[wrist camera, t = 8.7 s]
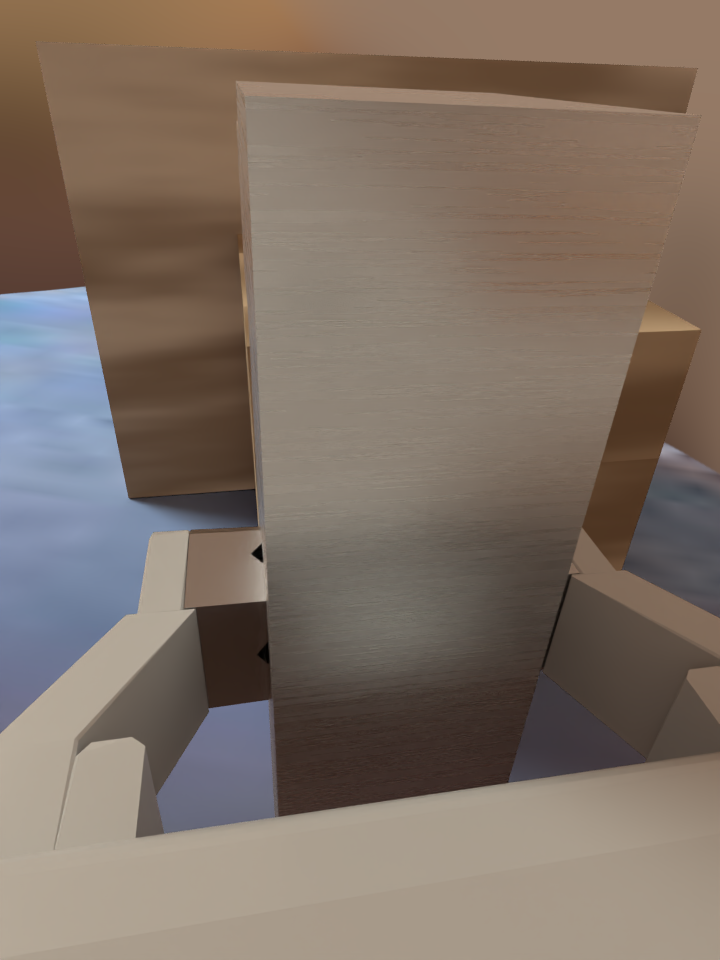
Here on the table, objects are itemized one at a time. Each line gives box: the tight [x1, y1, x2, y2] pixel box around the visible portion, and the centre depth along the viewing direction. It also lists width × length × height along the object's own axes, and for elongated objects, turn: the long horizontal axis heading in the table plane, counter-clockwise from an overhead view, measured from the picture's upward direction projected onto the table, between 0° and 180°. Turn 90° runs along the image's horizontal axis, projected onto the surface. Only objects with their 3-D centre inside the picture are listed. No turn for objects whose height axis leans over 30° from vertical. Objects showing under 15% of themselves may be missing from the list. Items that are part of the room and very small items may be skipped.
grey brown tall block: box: [236, 81, 701, 817], centre depth 10 cm, size 6×3×14 cm, turn 10°
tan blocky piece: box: [36, 42, 701, 571], centre depth 24 cm, size 15×24×18 cm, turn 100°
